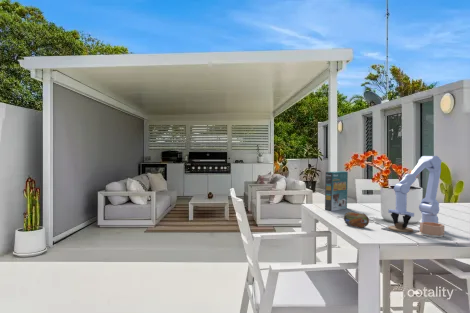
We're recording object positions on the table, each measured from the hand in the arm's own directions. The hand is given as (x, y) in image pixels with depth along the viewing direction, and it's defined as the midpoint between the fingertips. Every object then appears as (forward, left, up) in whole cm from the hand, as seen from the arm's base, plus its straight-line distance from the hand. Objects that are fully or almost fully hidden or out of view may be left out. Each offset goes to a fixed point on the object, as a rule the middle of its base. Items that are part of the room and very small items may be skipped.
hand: (400, 226), depth 191 cm
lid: (0, 0, -2) cm, 2 cm away
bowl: (-5, +15, -2) cm, 16 cm away
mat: (0, 0, -2) cm, 2 cm away
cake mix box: (-26, -68, -2) cm, 73 cm away
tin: (+14, -20, -2) cm, 25 cm away
